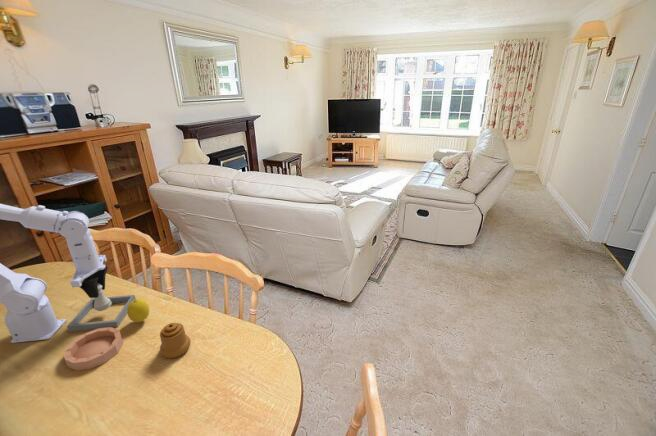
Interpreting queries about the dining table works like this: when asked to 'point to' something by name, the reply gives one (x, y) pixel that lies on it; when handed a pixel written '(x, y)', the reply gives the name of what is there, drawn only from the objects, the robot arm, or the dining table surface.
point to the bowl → (93, 348)
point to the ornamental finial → (173, 340)
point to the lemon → (138, 310)
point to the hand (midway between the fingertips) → (97, 293)
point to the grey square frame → (78, 326)
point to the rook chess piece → (101, 300)
